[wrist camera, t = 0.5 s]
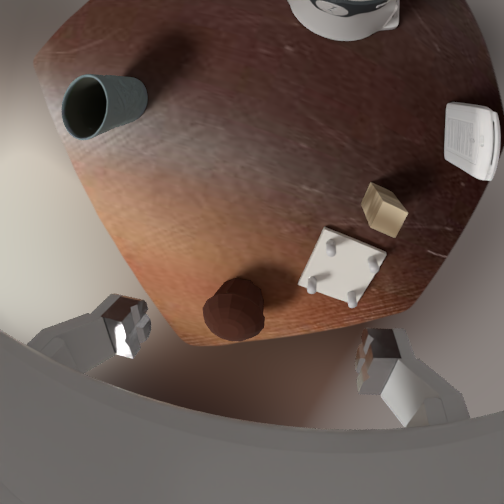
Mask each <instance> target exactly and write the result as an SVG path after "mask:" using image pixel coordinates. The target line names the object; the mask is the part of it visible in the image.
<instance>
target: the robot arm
mask: <svg viewBox="0 0 504 504" xmlns="http://www.w3.org/2000/svg"><path fill="white" fill-rule="evenodd" d="M288 2H289V4H290V7H291V9H292V11H293V13H294V15H295V16H296V18H297V19H298V20H299V21H300V22H301V23H302V24H303V25H304V26H305V27H306V28H308V29H309V30H311V31H312V32H314V33H316V34H318V35H320V36H323V37H326V38H329V39H333V40H339V41H353V40H359V39H363V38H365V37H368V36H370V35H371V34H373V33H375V32H377V31H380V30H392V29H395V28H397V26H398V24H399V0H288ZM392 16H393V17H392ZM147 310H148V307H147V303H146V302H145V301H144V300H141V299H137V298H132V297H127V296H123V295H119V294H111V295H110V296H108V297H107V298H106V299H105V300H104V301H103V302H102V303H101V304H100V305H99V306H98V307H97V308H96V309H95V310H94V311H93V312H92V313H91V314H89V313H87V314H84V315H81V316H79V317H76V318H73V319H70V320H68V321H65V322H62V323H59V324H57V325H54V326H51V327H48V328H45V329H43V330H41V331H40V332H39V333H38V334H37V335H36V336H35V337H34V338H33V339H32V340H31V341H30V342H29V343H28V344H27V345H25V344H23V343H22V342H19V341H18V340H16V339H15V338H13V337H11V336H10V335H8V334H7V333H5V332H3V331H2V330H0V504H504V411H501V412H497V413H494V414H489V415H485V416H481V417H476V418H472V419H470V416H469V413H468V410H467V407H466V404H465V401H464V398H463V396H462V394H461V393H460V392H459V391H458V390H457V389H455V388H454V387H453V386H452V385H450V384H449V383H448V382H447V381H446V380H445V379H443V378H442V377H441V376H440V375H439V374H437V373H436V372H435V371H434V370H432V369H431V368H430V367H429V366H428V365H426V364H425V363H424V362H423V361H421V360H420V359H416V358H415V355H414V353H413V350H412V347H411V344H410V342H409V339H408V336H407V333H406V331H405V330H404V329H378V328H365V329H364V330H363V333H362V336H361V337H362V344H360V345H359V346H358V349H357V352H356V358H355V369H356V371H357V373H358V374H359V375H358V378H357V388H358V394H372V395H374V394H375V395H380V396H381V397H382V399H383V400H384V401H385V403H386V404H387V405H388V407H389V408H390V409H391V410H392V412H393V413H394V414H395V415H396V417H397V418H398V419H399V421H400V422H401V423H402V425H403V426H404V427H405V428H396V429H371V430H339V429H316V428H301V427H290V426H281V425H272V424H265V423H258V422H251V421H245V420H239V419H233V418H227V417H222V416H217V415H213V414H208V413H204V412H199V411H195V410H191V409H187V408H183V407H179V406H176V405H172V404H168V403H164V402H161V401H158V400H154V399H151V398H148V397H145V396H142V395H139V394H136V393H133V392H130V391H127V390H124V389H121V388H119V387H116V386H113V385H111V384H108V383H105V382H103V381H100V380H98V379H95V378H93V377H91V376H88V375H86V374H84V373H86V372H87V371H89V370H91V369H92V368H94V367H96V366H97V365H99V364H101V363H103V362H104V361H106V360H108V359H109V358H111V357H113V356H115V354H118V355H121V356H125V357H128V358H132V359H133V358H134V357H135V355H136V354H137V352H138V351H139V350H140V348H141V346H140V343H142V342H144V341H146V340H147V338H148V337H149V334H150V331H151V321H150V318H149V317H148V316H147V314H146V312H147Z"/></svg>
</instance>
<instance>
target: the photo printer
mask: <svg viewBox="0 0 504 504" xmlns="http://www.w3.org/2000/svg"><path fill="white" fill-rule="evenodd" d="M500 140H501V135H500V122H499V117H498V114H497V113H496V112H493V111H492V110H491V109H490V108H488V107H486V106H481V105H475V104H468V103H460V102H451V103H448V104H447V107H446V120H445V142H444V156H445V159H446V160H447V161H449V162H450V163H452V164H454V165H456V166H457V167H459V168H461V169H462V170H464V171H465V172H467V173H469V174H470V175H472V176H473V177H475V178H477V179H480V180H489V181H491V180H492V179H493V177H494V175H495V172H496V169H497V165H498V160H499V154H500Z"/></svg>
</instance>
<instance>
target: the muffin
mask: <svg viewBox="0 0 504 504" xmlns="http://www.w3.org/2000/svg"><path fill="white" fill-rule="evenodd" d="M263 303H264V300H263V297H262V294H261V289H260V288H258V287H257V286H255V285H254V284H253V283H252V282H251V281H250V280H243V279H239V278H235V279H233V280H230V281H227V282H224V284H223V285H222V286H221V287H220V288H219V290H218V291H217V292H216V293H215V295H214V296H213V297H211V298H210V299H208V300H207V301H206V303H205V305H204V307H203V315H204V320H205V323H206V325H207V326H208V328H209V329H210V330H211V332H212V333H214V334H215V335H217V336H218V337H220V338H222V339H226V340H229V341H243V340H246V339H249V338H252V337H254V336H256V335H258V334H259V333H260V331H261V330H262V329H263V328H264V320H265V317H264V315H263Z"/></svg>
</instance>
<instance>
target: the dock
mask: <svg viewBox="0 0 504 504" xmlns="http://www.w3.org/2000/svg"><path fill="white" fill-rule="evenodd" d="M386 255H387V254H386V252H385V251H383V250H381V249H378V248H376V247H374V246H371V245H369V244H366V243H364V242H362V241H359V240H357V239H354V238H352V237H349V236H347V235H344V234H342V233H339V232H337V231H334V230H332V229H329V228H327V227H324V228H323V231H322V233H321V235H320V237H319V239H318V241H317V244H316V246H315V248H314V250H313V252H312V254H311V256H310V258H309V261H308V263H307V265H306V267H305V269H304V271H303V273H302V275H301V277H300V279H299V281H298V285H300V286H303V287H306V288H307V292H308V293H310V294H314V293H315V292H316V291H317V292H320V293H322V294H325V295H328V296H331V297H334V298H337V299H340V300H342V301H345V302H348V306H349V307H350V308H354V307H356V306H357V302H358V300H359V299H360V297H361V296H362V294H363V293H364V291H365V290H366V288H367V286H368V285H369V283H370V282H371V280H372V278H373V277H374V275H375V274H376V273H377V272H378V271H379V267H380V265H381V264H382V262H383V260H384V259H385V257H386Z"/></svg>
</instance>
